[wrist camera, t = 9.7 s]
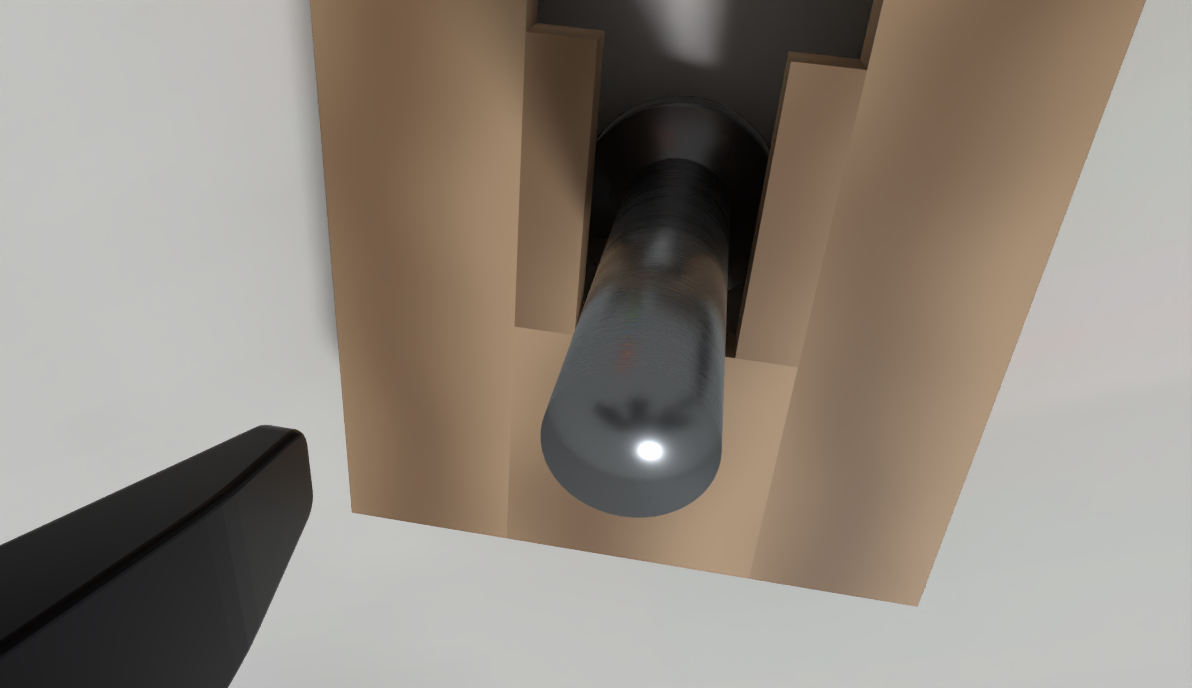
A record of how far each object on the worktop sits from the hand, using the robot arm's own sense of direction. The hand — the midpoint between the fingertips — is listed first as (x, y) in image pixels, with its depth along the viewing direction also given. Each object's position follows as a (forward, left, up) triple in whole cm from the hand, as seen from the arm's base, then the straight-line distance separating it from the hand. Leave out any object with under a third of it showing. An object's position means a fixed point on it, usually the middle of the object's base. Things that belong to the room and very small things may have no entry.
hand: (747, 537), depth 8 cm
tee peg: (+1, +1, -13) cm, 13 cm away
